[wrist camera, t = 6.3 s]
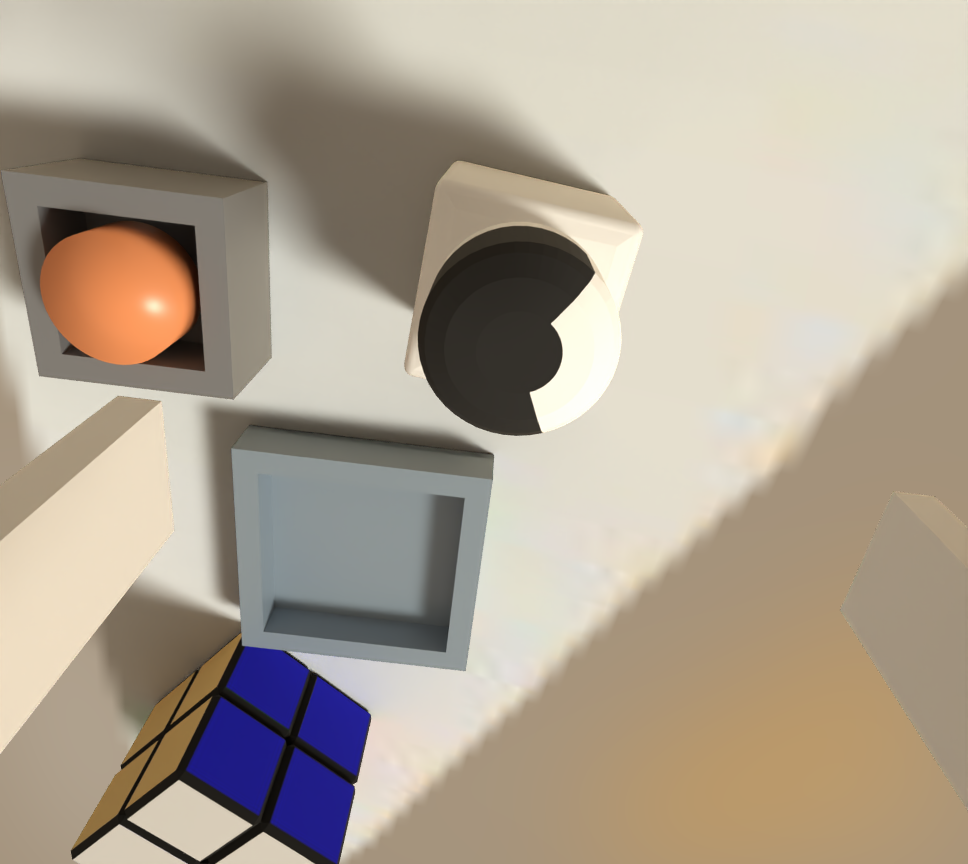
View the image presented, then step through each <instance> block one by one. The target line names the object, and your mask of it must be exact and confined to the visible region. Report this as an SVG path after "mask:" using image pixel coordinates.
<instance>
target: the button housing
mask: <svg viewBox="0 0 968 864" xmlns="http://www.w3.org/2000/svg"><path fill="white" fill-rule="evenodd" d="M1 176H2V181H3V186H4V191H5V197H6V202H7V207H8V213H9V218H10V223H11V229H12V234H13V239H14V245H15V250H16V255H17V261H18V266H19V271H20V277H21V282H22V287H23V293H24V298H25V303H26V308H27V314H28V319H29V324H30V330H31V335H32V340H33V346H34V351H35V356H36V362H37V367H38V372H39V376H43V377H51V378H60V379H68V380H76V381H84V382H93V383H101V384H109V385H117V386H126V387H134V388H142V389H151V390H159V391H167V392H175V393H184V394H192V395H200V396H209V397H217V398H225V399H233V400H234V399H235V397H236V396H237V395H238V394H239V393H240V392H241V391H242V390H243V389H244V387H245V386H246V385H247V384H248V383H249V382H250V381H251V380H252V379H253V377H254V376H255V375H256V374H257V373H258V372H259V371H260V370H261V369H262V368H263V366H264V365H265V364H266V363H267V362H268V361H269V360H270V359H271V358H272V355H271V314H270V272H269V231H268V189H267V182H263V181H255V180H247V179H239V178H231V177H223V176H215V175H207V174H200V173H192V172H184V171H176V170H168V169H160V168H152V167H144V166H137V165H129V164H121V163H113V162H105V161H97V160H89V159H81V158H77V159H71V160H64V161H58V162H51V163H45V164H38V165H32V166H25V167H19V168H12V169H6V170H1ZM117 221H137V222H142V223H145V224H149V225H152V226H154V227H156V228H158V229H160V230H162V231H164V232H165V233H167V234H168V235H170V236H171V237H172V238H174V239H175V240H176V241H177V242H178V243H179V244H180V245H181V246H182V247H183V248H184V249H185V250H186V251H187V253H188V254H189V256H190V257H191V258H192V260H193V262H194V264H195V265H196V267H197V269H198V277H199V291H200V305H201V314H200V316H199V318H198V320H197V322H196V324H195V325H194V326H193V328H192V329H191V330H190V331H189V332H188V333H186V334H185V335H184V336H182V337H181V338H180V339H178V340H177V341H176V342H174V343H173V344H172V345H170V346H169V347H167V348H166V349H165V350H163V351H162V352H161V353H159V354H158V355H157V356H155V357H154V358H152V359H150V360H148V361H145V362H142V363H138V364H132V365H118V364H112V363H107V362H104V361H100V360H98V359H95V358H93V357H91V356H89V355H87V354H85V353H84V352H82V351H81V350H79V349H78V348H76V347H75V346H74V345H72V344H71V343H70V342H69V341H68V340H67V339H66V338H65V337H64V336H63V335H62V334H61V333H60V332H59V330H58V329H57V328H56V327H55V325H54V324H53V322H52V321H51V319H50V317H49V315H48V313H47V311H46V309H45V306H44V303H43V300H42V296H41V290H40V274H41V269H42V266H43V263H44V260H45V258H46V256H47V255H48V253H49V252H50V251H51V249H52V248H53V247H54V246H55V245H56V244H57V243H59V242H60V241H62V240H63V239H65V238H67V237H70V236H72V235H75V234H78V233H81V232H84V231H87V230H90V229H93V228H96V227H99V226H103V225H106V224H109V223H112V222H117Z"/></svg>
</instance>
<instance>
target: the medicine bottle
mask: <svg viewBox="0 0 968 864" xmlns="http://www.w3.org/2000/svg"><path fill="white" fill-rule="evenodd" d="M642 236H643V229H642V227H641V225H640V224H639V223H638V222H637V221H636V220H635V219H634V218H633V217H632V216H631V215H630V214H629V213H628V212H627V210H626V209H625V208H624V207H623V206H622V205H621V204H620V203H619V202H618V201H617V200H616V199H615V198H613V197H612V196H609V195H604V194H600V193H596V192H592V191H587V190H583V189H579V188H575V187H571V186H566V185H562V184H558V183H554V182H549V181H545V180H541V179H537V178H532V177H528V176H524V175H520V174H516V173H511V172H507V171H503V170H499V169H494V168H490V167H486V166H482V165H477V164H473V163H469V162H465V161H456V162H454V163H453V164H452V165H451V166H450V168H449V169H448V170H447V171H446V173H445V174H444V175H443V176H442V178H441V179H440V180H439V181H438V183H437V185H436V187H435V193H434V198H433V204H432V210H431V215H430V221H429V227H428V232H427V238H426V244H425V249H424V255H423V261H422V266H421V272H420V278H419V283H418V289H417V295H416V300H415V306H414V312H413V317H412V323H411V329H410V334H409V340H408V346H407V351H406V357H405V363H404V366H405V371H406V372H407V373H408V374H409V375H411V376H415V377H420V378H424V379H427V381H428V383H429V385H430V387H431V388H432V390H433V391H434V393H435V394H436V396H437V397H438V398H439V399H440V400H441V402H442V403H443V404H444V405H445V406H446V407H447V408H448V409H449V410H451V411H452V412H453V413H454V414H455V415H457V416H458V417H460V418H461V419H463V420H464V421H466V422H468V423H470V424H472V425H474V426H476V427H478V428H480V429H483V430H486V431H489V432H493V433H498V434H503V435H514V436H520V435H533V434H539V433H544V432H547V431H551V430H554V429H557V428H559V427H561V426H564V425H566V424H568V423H570V422H571V421H573V420H575V419H576V418H578V417H579V416H581V415H582V414H583V413H584V412H586V411H587V410H588V409H589V408H590V407H591V406H592V405H593V404H594V403H595V402H596V401H597V400H598V399H599V398H600V397H601V395H602V394H603V392H604V391H605V390H606V388H607V387H608V385H609V383H610V381H611V379H612V377H613V375H614V372H615V370H616V367H617V364H618V360H619V355H620V351H621V325H620V319H619V315H618V312H619V309H620V306H621V303H622V300H623V297H624V293H625V290H626V287H627V284H628V281H629V278H630V274H631V271H632V268H633V265H634V262H635V259H636V255H637V252H638V249H639V246H640V243H641V240H642Z"/></svg>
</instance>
